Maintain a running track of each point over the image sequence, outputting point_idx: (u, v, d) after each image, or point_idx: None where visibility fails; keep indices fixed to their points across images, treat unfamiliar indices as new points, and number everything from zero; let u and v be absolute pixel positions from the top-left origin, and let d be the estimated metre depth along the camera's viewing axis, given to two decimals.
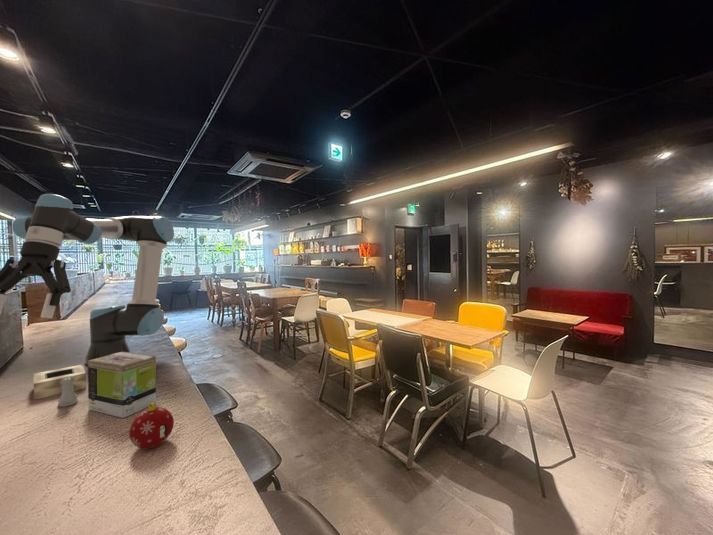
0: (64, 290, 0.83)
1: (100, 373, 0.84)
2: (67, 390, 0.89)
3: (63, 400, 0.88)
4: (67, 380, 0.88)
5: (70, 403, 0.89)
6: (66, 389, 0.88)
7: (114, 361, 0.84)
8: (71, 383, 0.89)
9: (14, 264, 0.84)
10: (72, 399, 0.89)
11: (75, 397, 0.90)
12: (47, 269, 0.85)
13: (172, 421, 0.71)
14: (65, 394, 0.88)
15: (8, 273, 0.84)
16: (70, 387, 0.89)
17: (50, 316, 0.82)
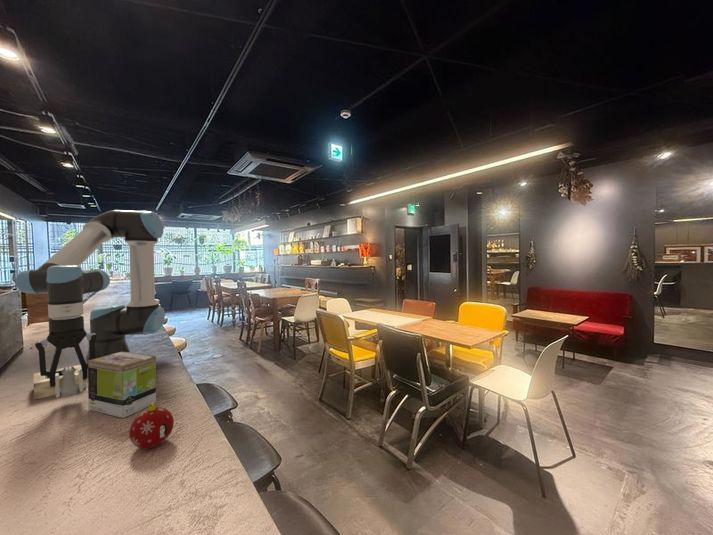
0: None
1: (100, 373, 0.84)
2: (68, 380, 0.89)
3: (64, 390, 0.88)
4: (68, 370, 0.89)
5: (72, 393, 0.89)
6: (67, 379, 0.89)
7: (114, 361, 0.84)
8: (72, 373, 0.90)
9: (44, 344, 0.86)
10: (74, 389, 0.90)
11: (76, 387, 0.91)
12: None
13: (172, 421, 0.71)
14: (67, 384, 0.89)
15: None
16: (71, 377, 0.90)
17: None
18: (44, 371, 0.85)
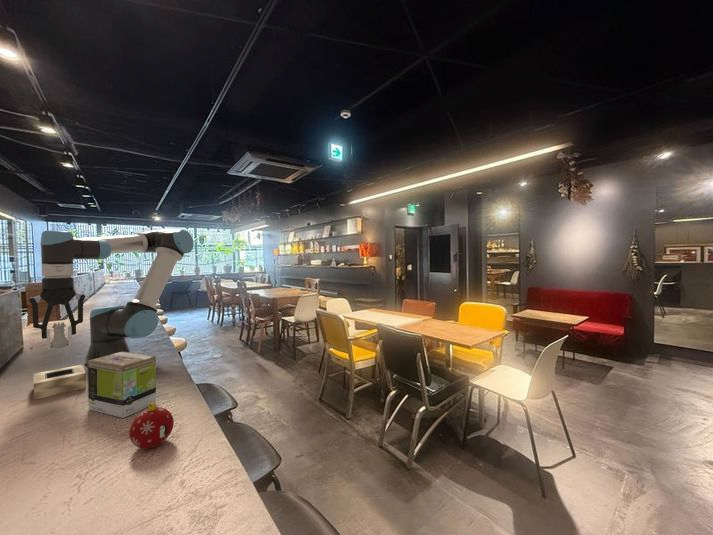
0: None
1: (100, 373, 0.84)
2: (58, 333, 0.99)
3: (55, 342, 0.98)
4: (58, 325, 0.99)
5: (61, 345, 0.99)
6: (57, 333, 0.99)
7: (114, 361, 0.84)
8: (62, 328, 1.00)
9: (37, 300, 0.96)
10: (63, 342, 0.99)
11: (66, 341, 1.00)
12: None
13: (172, 421, 0.71)
14: (57, 337, 0.99)
15: (37, 308, 0.96)
16: (61, 331, 1.00)
17: None
18: (37, 324, 0.95)
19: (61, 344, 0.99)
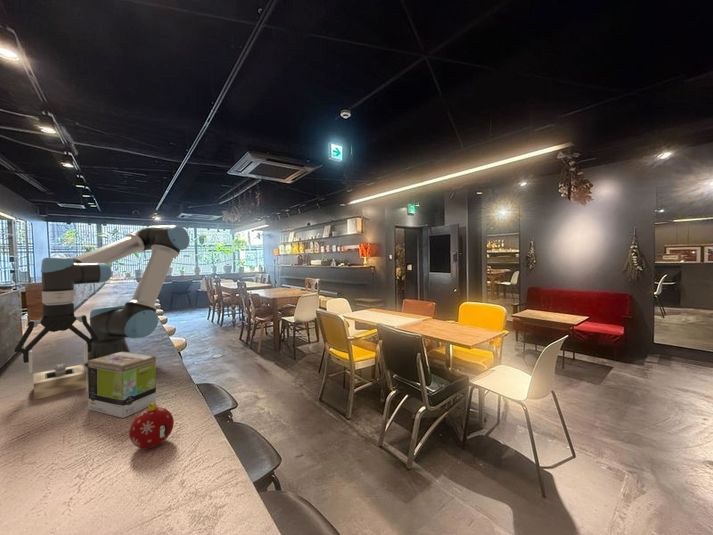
0: None
1: (100, 373, 0.84)
2: (60, 375, 1.00)
3: None
4: (60, 366, 1.00)
5: None
6: (59, 374, 1.00)
7: (114, 361, 0.84)
8: (64, 369, 1.00)
9: (35, 324, 0.96)
10: None
11: None
12: None
13: (172, 421, 0.71)
14: None
15: (30, 332, 0.95)
16: (63, 372, 1.00)
17: None
18: (19, 348, 0.93)
19: None
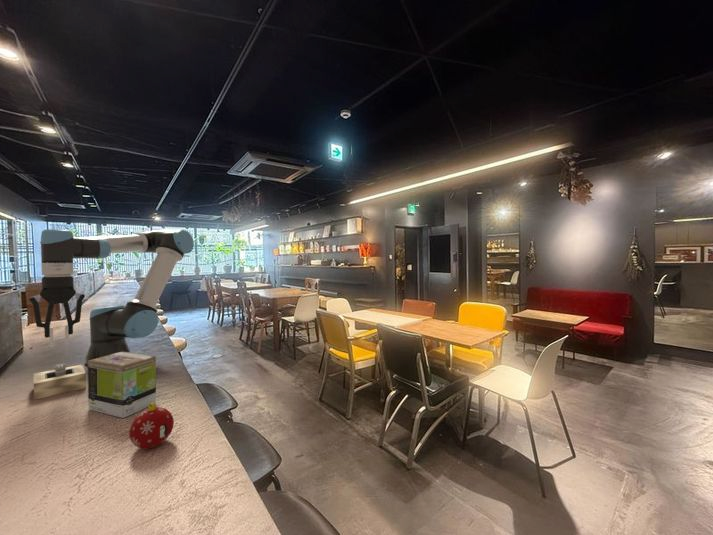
0: (79, 321, 1.03)
1: (100, 373, 0.84)
2: (60, 375, 1.00)
3: None
4: (60, 366, 1.00)
5: None
6: (59, 374, 1.00)
7: (114, 361, 0.84)
8: (64, 369, 1.00)
9: (38, 299, 0.96)
10: None
11: None
12: None
13: (172, 421, 0.71)
14: None
15: None
16: (63, 372, 1.00)
17: None
18: (39, 322, 0.96)
19: None
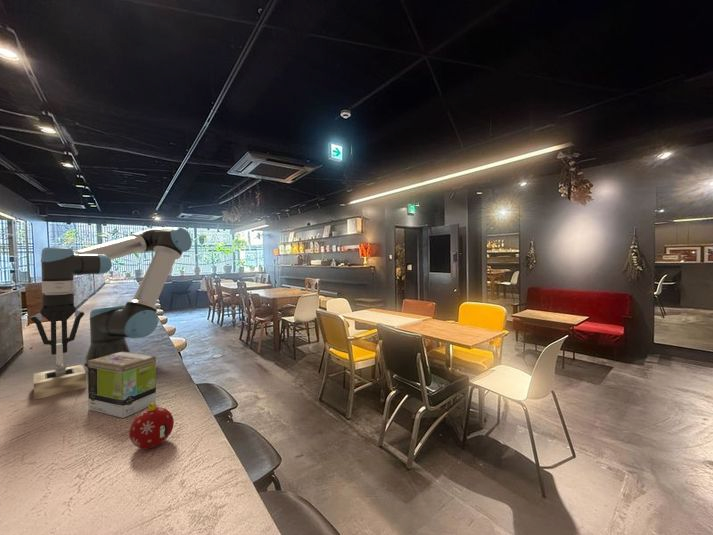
0: None
1: (100, 373, 0.84)
2: (60, 375, 1.00)
3: None
4: (60, 366, 1.00)
5: None
6: (59, 374, 1.00)
7: (114, 361, 0.84)
8: (64, 369, 1.00)
9: (39, 317, 0.96)
10: None
11: None
12: None
13: (172, 421, 0.71)
14: None
15: (42, 325, 0.97)
16: (63, 372, 1.00)
17: None
18: (46, 340, 0.97)
19: None
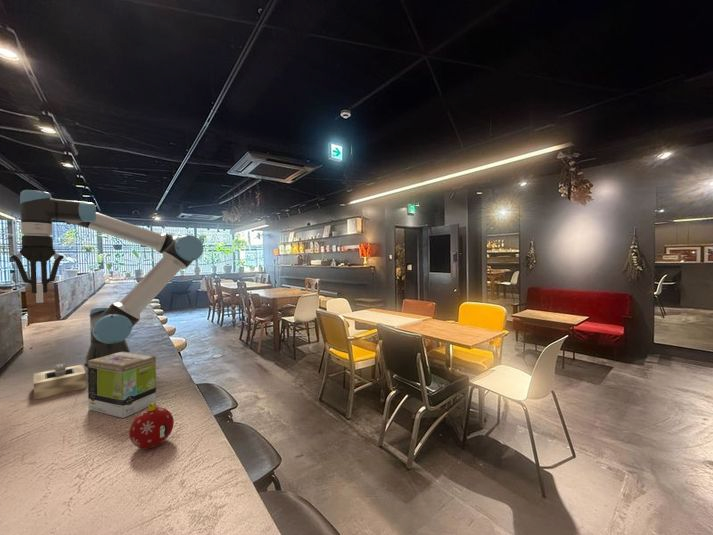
0: (53, 280, 1.07)
1: (100, 373, 0.84)
2: (60, 375, 1.00)
3: None
4: (60, 366, 0.99)
5: None
6: (59, 374, 0.99)
7: (114, 361, 0.84)
8: (63, 369, 1.00)
9: (19, 257, 1.01)
10: None
11: None
12: None
13: (172, 421, 0.71)
14: None
15: (22, 265, 1.02)
16: (63, 372, 1.00)
17: None
18: (26, 279, 1.02)
19: None
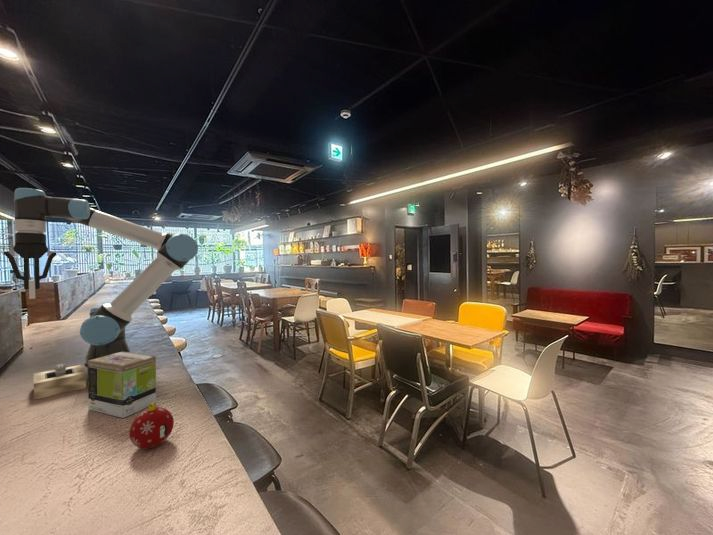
0: None
1: (100, 373, 0.84)
2: (60, 375, 1.00)
3: None
4: (60, 366, 0.99)
5: None
6: (59, 374, 0.99)
7: (114, 361, 0.84)
8: (64, 369, 1.00)
9: (12, 253, 1.03)
10: None
11: None
12: None
13: (172, 421, 0.71)
14: None
15: (15, 261, 1.04)
16: (63, 372, 1.00)
17: None
18: (18, 275, 1.03)
19: None
